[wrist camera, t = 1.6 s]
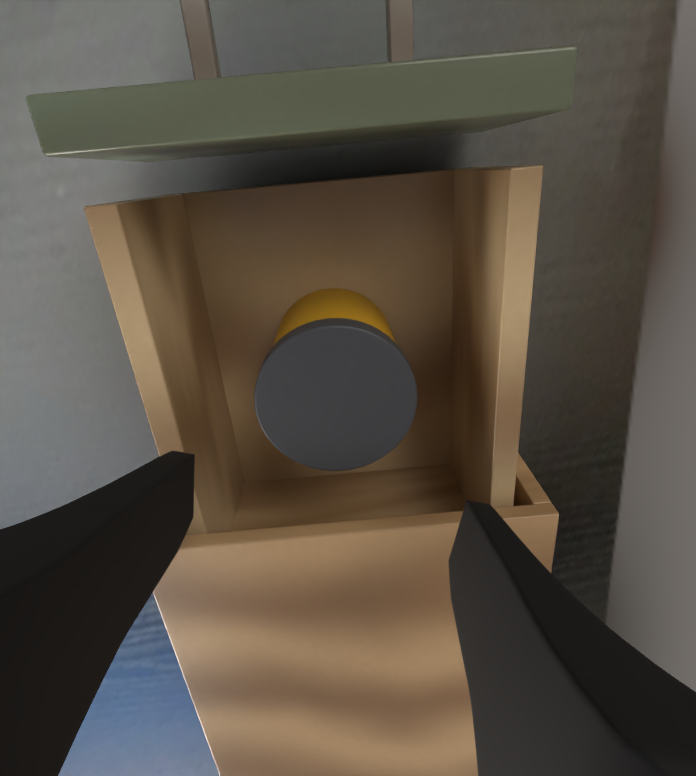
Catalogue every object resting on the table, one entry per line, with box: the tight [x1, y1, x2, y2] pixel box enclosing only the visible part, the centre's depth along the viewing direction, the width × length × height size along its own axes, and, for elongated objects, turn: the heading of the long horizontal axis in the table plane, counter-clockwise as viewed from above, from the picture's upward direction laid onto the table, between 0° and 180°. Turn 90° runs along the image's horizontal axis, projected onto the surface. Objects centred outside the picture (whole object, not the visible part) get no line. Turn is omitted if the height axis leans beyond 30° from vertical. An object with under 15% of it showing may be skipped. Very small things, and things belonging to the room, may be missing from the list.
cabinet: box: [153, 453, 559, 776], centre depth 22 cm, size 16×13×8 cm
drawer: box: [26, 0, 578, 536], centre depth 15 cm, size 20×12×7 cm, turn 5°
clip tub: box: [254, 288, 418, 471], centre depth 16 cm, size 5×5×5 cm
